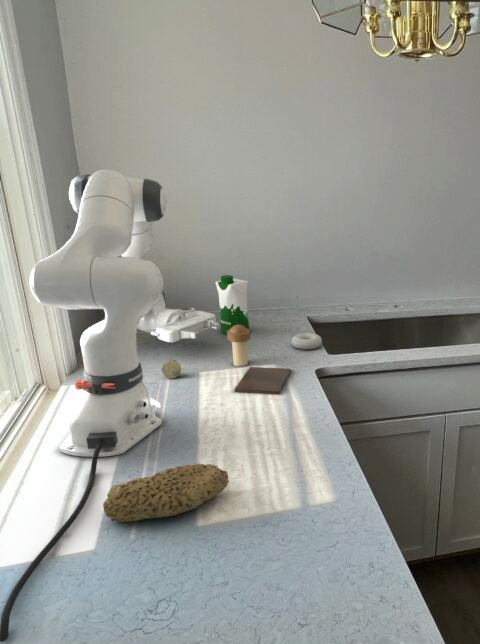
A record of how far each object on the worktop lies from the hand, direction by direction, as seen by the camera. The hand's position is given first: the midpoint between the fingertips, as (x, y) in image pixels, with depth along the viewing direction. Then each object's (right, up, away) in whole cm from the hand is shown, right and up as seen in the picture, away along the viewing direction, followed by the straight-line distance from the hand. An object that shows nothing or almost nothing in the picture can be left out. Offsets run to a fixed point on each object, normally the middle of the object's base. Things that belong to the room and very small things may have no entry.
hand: (207, 331), depth 169 cm
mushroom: (+11, -10, -2) cm, 15 cm away
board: (+20, -15, -13) cm, 28 cm away
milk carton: (+2, +1, +26) cm, 26 cm away
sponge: (+15, -37, -67) cm, 77 cm away
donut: (+28, -4, +15) cm, 32 cm away
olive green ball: (-6, -14, -12) cm, 19 cm away
